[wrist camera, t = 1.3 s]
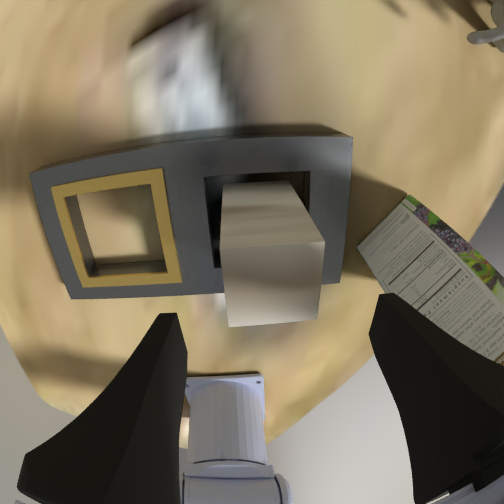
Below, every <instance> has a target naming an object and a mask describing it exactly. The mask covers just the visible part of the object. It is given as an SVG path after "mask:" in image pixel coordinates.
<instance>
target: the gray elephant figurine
mask: <svg viewBox="0 0 504 504" xmlns="http://www.w3.org/2000/svg"><path fill="white" fill-rule="evenodd" d="M489 1H491V2H493V4H492V6H491V16H492V20H493V22H494V23H495V25H496V26H497V28H494V29H489V30H484V31H475V32H472V33H470V34H468V36H467V40H468V41H469V42H470V43H471V44H476V45H477V44H484V43H489V42H492V43H493V44H494V45H495V46H496V47H497V48H498V49H499V50H500V51H501V52H503V53H504V0H489Z"/></svg>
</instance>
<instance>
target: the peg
mask: <svg viewBox="0 0 504 504" xmlns="http://www.w3.org/2000/svg"><path fill="white" fill-rule="evenodd" d="M324 248H325V241H324V239H323V237H322V236H321V234H320V232H319V230H318V229H317V227H316V225H315V224H314V222H313V220H312V218H311V217H310V215H309V213H308V212H307V210H306V208H305V207H304V205H303V203H302V202H301V200H300V198H299V197H298V195H297V194H296V192H295V190H294V189H293V187H292V185H291V184H290V182H289V181H288V180H287V181H266V182H249V183H234V184H223V196H222V213H221V232H220V257H221V266H222V274H223V283H224V291H225V299H226V307H227V315H228V323H229V327H237V326H251V325H263V324H274V323H285V322H295V321H304V320H313V319H317V316H318V307H319V299H320V290H321V280H322V270H323V259H324Z"/></svg>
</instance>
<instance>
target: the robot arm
mask: <svg viewBox="0 0 504 504" xmlns="http://www.w3.org/2000/svg"><path fill="white" fill-rule="evenodd" d="M369 337H370V341H371V344H372V347H373V351H374V354H375V357H376V359H377V361H378V364H379V366H380V368H381V370H382V373H383V375H384V377H385V379H386V382H387V384H388V386H389V389H390V391H391V393H392V395H393V398H394V400H395V402H396V405H397V408H398V411H399V413H400V417H401V421H402V425H403V428H404V432H405V436H406V441H407V446H408V451H409V456H410V463H411V470H412V478H413V496H414V502H415V504H427V503H429V502H431V501H433V500H435V499H437V498H440V497H442V496H444V495H446V494H448V493H449V494H450V495H449V496H446V497H445V498H442V499H440V500H438V501H436V502H434V503H432V504H504V366H503V365H501V364H499V363H496V362H494V361H492V360H490V359H488V358H486V357H485V356H483V355H481V354H479V353H477V352H476V351H474V350H472V349H471V348H469V347H467V346H466V345H464V344H463V343H461V342H459V341H458V340H457V339H455V338H454V337H452V336H451V335H449V334H448V333H447V332H445V331H444V330H442V329H441V328H440V327H438V326H437V325H436V324H434V323H433V322H432V321H430V320H429V319H428V318H427V317H425V316H424V315H423V314H421V313H420V312H419V311H418V310H416V309H415V308H414V307H412V306H411V305H410V304H409V303H407V302H406V301H405V300H403V299H402V298H401V297H399V296H398V295H396V294H395V293H386V294H379V298H378V301H377V305H376V309H375V313H374V317H373V320H372V324H371V327H370V331H369ZM187 354H188V352H187V349H186V345H185V342H184V338H183V334H182V331H181V327H180V323H179V320H178V316H177V313H160V314H159V315H158V316H157V318H156V319H155V321H154V322H153V324H152V325H151V327H150V328H149V330H148V331H147V333H146V334H145V336H144V337H143V339H142V341H141V342H140V343H139V345H138V346H137V348H136V349H135V351H134V352H133V354H132V355H131V356H130V358H129V359H128V361H127V362H126V363H125V365H124V366H123V367H122V368H121V370H120V371H119V372H118V374H117V375H116V376H115V378H114V379H113V380H112V381H111V382H110V384H109V385H108V386H107V387H106V388H105V389H104V391H103V392H102V393H101V394H100V395H99V396H98V397H97V398H96V399H95V400H94V401H93V402H92V403H91V404H90V405H89V406H88V407H87V408H86V409H85V410H84V411H83V412H82V413H81V414H80V415H79V416H78V417H77V418H76V419H75V420H73V421H72V422H71V423H70V424H68V425H67V426H66V427H65V428H63V429H62V430H61V431H60V432H58V433H57V434H56V435H54V436H53V437H52V438H50V439H49V440H47V441H46V442H44V443H43V444H41V445H40V446H38V447H36V448H35V449H33V450H32V451H30V452H28V453H27V454H25V457H24V460H23V464H22V468H21V471H20V475H19V479H18V483H17V488H18V490H19V491H20V492H21V493H23V494H24V495H26V496H28V497H30V498H32V499H33V500H35V501H37V502H39V503H41V504H294V503H293V495H292V491H291V488H290V485H289V483H288V482H287V480H286V479H284V478H283V476H282V475H280V474H274V469H273V465H268V463H267V454H266V445H265V436H264V427H263V420H264V419H265V409H264V377H263V375H262V374H245V375H230V376H208V377H187ZM184 395H186V398H187V400H188V403H189V405H190V420H189V438H188V460H187V461H188V462H187V464H186V468H185V475H184V472H179V432H180V424H181V416H182V409H183V402H184ZM15 504H25V503H22V502H20V501H18V500H16V501H15Z"/></svg>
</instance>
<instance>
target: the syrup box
mask: <svg viewBox="0 0 504 504" xmlns="http://www.w3.org/2000/svg"><path fill="white" fill-rule="evenodd" d="M357 250H358V252H359V253H360V254H361V256H362V257H363V259H364V261H365V262H366V264H367V265H368V267H369V268H370V270H371V272H372V273H373V275H374V276H375V278H376V279H377V281H378V282H379V284H380V285H381V287H382V289H383V290H384V292H385V294H386V293H395V294H396V295H398V296H399V297H401V298H402V299H403V300H405V301H406V302H407V303H409V304H410V305H411V306H412V307H414V308H415V309H416V310H418V311H419V312H420V313H421V314H423V315H424V316H425V317H427V318H428V319H429V320H430V321H432V322H433V323H434V324H436V325H437V326H438V327H440V328H441V329H442V330H444V331H445V332H447V333H448V334H449V335H451V336H452V337H454V338H455V339H457V340H458V341H459V342H461V343H463V344H464V345H466V346H467V347H469V348H471V349H472V350H474V351H476V352H477V353H479V354H481V355H483V356H485V357H486V358H488V359H490V360H492V361H494V362H496V363H499V364H501V365H503V366H504V277H503V276H502V275H500V273H499V272H498V271H497V270H496V269H495V268H494V267H493V266H492V265H491V264H490V263H489V262H488V261H487V260H486V259H485V258H484V257H483V256H482V255H481V254H480V253H479V252H477V251H476V250H475V249H474V248H473V247H472V246H471V245H470V244H469V243H468V242H467V241H466V240H465V239H463V238H462V237H461V236H460V235H459V234H458V233H457V232H455V231H454V230H453V229H452V228H451V227H449V226H448V225H447V224H446V223H445V222H444V221H442V220H441V219H440V218H439V217H438V216H437V215H435V214H434V213H433V212H432V211H430V210H429V209H428V208H427V207H425V206H424V205H423V204H422V203H420V202H419V201H418V200H416V199H415V198H414V197H413V196H411V195H408V196H406V197H405V199H404V200H403V201H402V202H401V203H400V204H399V205H398V206H397V207H396V208H395V209H394V210H393V211H392V212H391V213H390V214H389V215H388V216H387V217H386V218H385V219H384V220H383V221H382V222H381V223H380V224H379V225H378V226H377V227H376V228H375V229H374V230H373V231H372V232H371V233H370V234H369V235H368V236H367V237H366V238H365V239H364V240H363V241H362V242H361V243H360V244H359V245H358V246H357Z"/></svg>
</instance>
